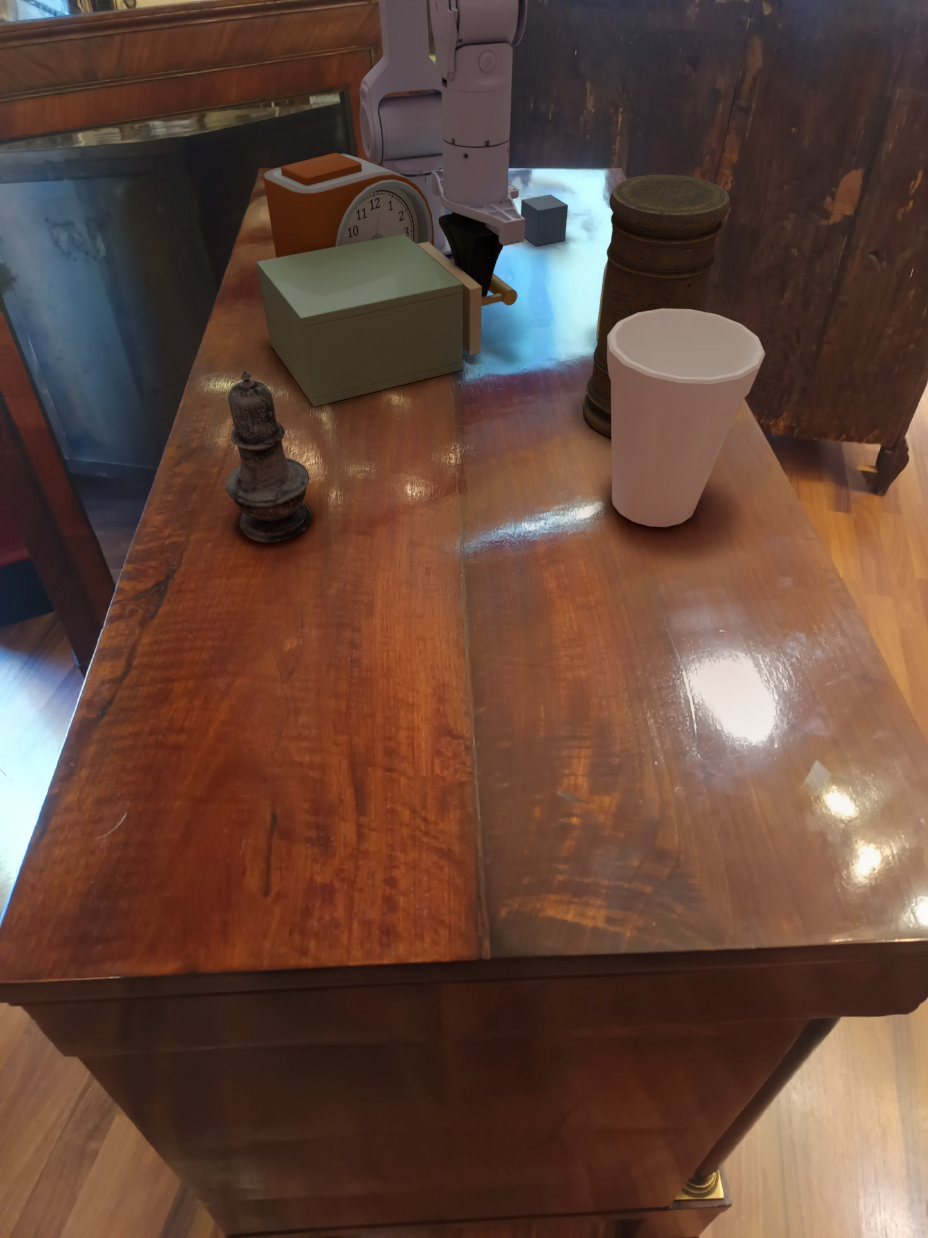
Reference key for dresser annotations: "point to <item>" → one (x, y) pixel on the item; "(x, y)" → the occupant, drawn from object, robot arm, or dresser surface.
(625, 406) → the cup
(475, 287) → the drawer
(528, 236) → the block
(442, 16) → the robot arm
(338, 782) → the dresser surface
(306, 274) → the cabinet
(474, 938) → the dresser surface
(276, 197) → the alarm clock
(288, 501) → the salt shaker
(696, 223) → the container
